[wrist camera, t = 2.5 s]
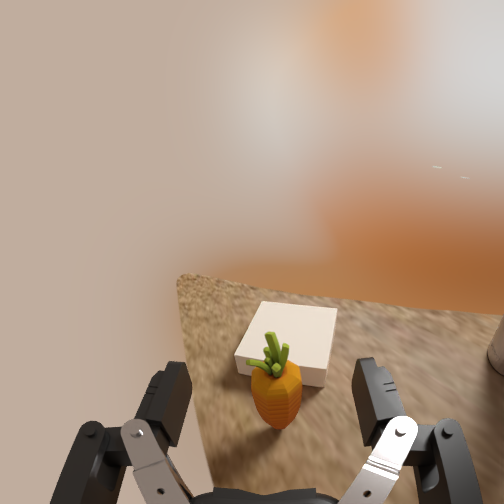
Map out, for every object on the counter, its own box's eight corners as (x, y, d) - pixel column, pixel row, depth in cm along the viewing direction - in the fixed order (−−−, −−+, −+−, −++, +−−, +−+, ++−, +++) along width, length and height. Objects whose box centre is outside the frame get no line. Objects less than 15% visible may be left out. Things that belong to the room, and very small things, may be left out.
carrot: (293, 448, 25) (294, 372, 19) (252, 438, 27) (231, 358, 21) (306, 415, 29) (310, 327, 23) (268, 406, 31) (255, 318, 25)
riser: (335, 327, 43) (337, 308, 41) (324, 387, 33) (326, 369, 31) (264, 319, 47) (262, 301, 45) (238, 373, 37) (234, 354, 35)
